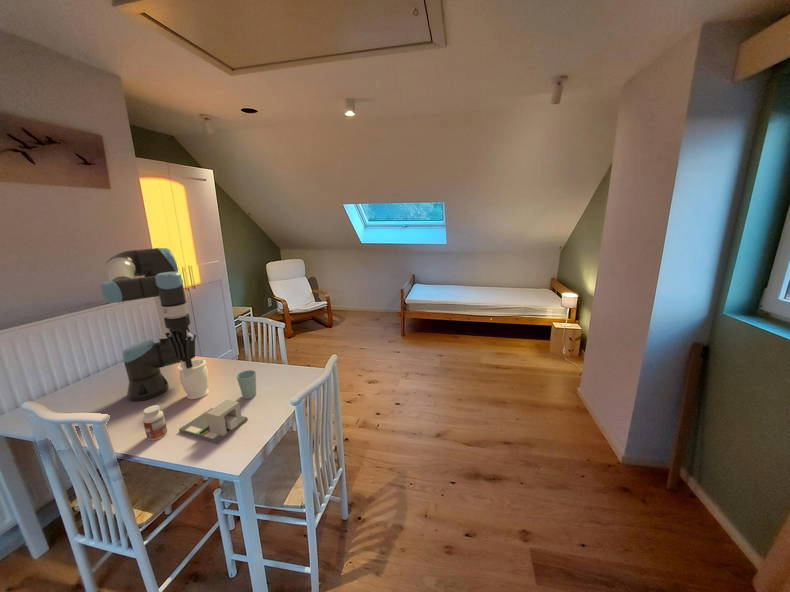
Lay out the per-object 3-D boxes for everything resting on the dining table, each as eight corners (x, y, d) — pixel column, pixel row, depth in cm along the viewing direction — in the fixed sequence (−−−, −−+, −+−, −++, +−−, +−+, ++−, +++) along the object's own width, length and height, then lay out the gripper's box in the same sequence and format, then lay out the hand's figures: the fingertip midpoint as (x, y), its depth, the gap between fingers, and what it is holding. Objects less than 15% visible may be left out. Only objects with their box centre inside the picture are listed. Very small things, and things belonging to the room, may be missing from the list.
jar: (183, 403, 138) (176, 372, 134) (185, 392, 147) (179, 362, 143) (211, 396, 143) (205, 366, 139) (211, 386, 152) (206, 357, 148)
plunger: (198, 434, 116) (195, 420, 115) (221, 418, 125) (219, 404, 124) (218, 440, 112) (215, 426, 111) (241, 423, 121) (239, 409, 120)
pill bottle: (145, 436, 118) (138, 409, 115) (164, 427, 123) (158, 401, 120) (150, 443, 114) (143, 416, 112) (170, 434, 119) (163, 408, 116)
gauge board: (179, 431, 120) (174, 409, 118) (212, 410, 133) (208, 390, 130) (217, 443, 113) (212, 420, 111) (247, 420, 126) (244, 398, 124)
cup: (259, 397, 141) (255, 376, 139) (239, 402, 138) (236, 380, 136) (258, 389, 148) (255, 368, 145) (240, 393, 145) (236, 372, 142)
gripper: (153, 317, 114) (167, 377, 120) (178, 320, 109) (191, 383, 115) (174, 310, 121) (186, 368, 127) (199, 314, 116) (210, 373, 122)
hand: (188, 375), depth 121 cm, fingers closed
